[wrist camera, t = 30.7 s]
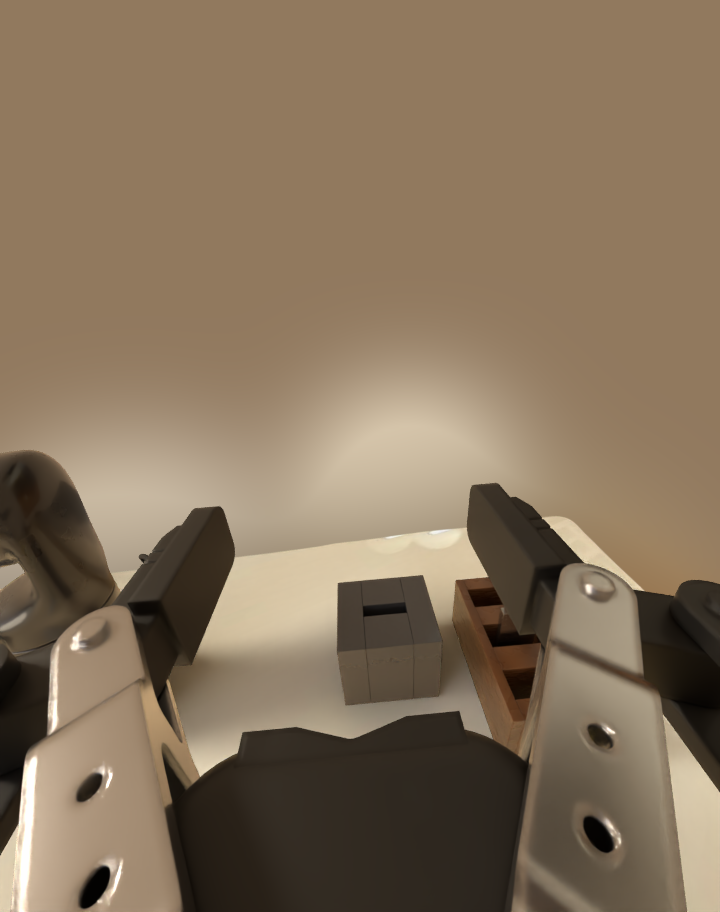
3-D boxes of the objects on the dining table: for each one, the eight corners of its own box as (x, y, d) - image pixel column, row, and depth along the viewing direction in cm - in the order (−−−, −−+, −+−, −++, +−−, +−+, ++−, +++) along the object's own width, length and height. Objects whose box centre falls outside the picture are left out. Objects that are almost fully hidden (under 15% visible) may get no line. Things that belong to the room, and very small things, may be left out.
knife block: (345, 705, 38) (336, 651, 33) (344, 633, 46) (337, 582, 41) (439, 696, 38) (442, 641, 33) (421, 626, 46) (422, 574, 41)
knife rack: (502, 764, 32) (513, 721, 28) (452, 620, 46) (455, 580, 43) (581, 756, 32) (602, 712, 29) (507, 615, 46) (514, 574, 43)
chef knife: (493, 687, 38) (519, 551, 29) (486, 670, 40) (508, 537, 31) (526, 684, 38) (563, 547, 29) (518, 667, 40) (550, 533, 31)
